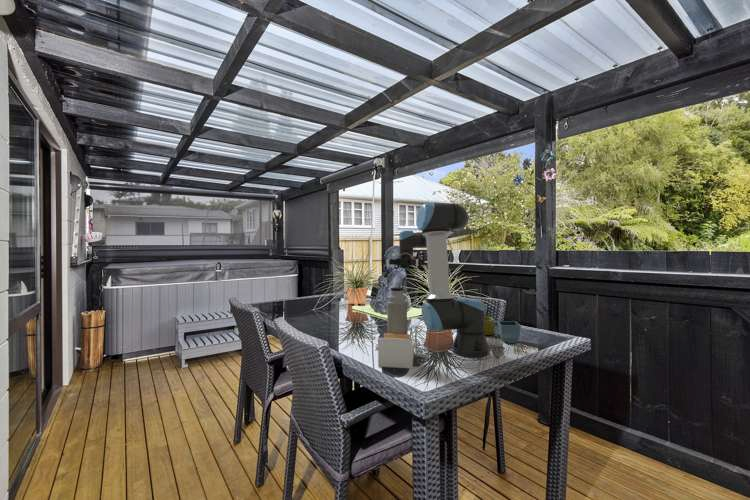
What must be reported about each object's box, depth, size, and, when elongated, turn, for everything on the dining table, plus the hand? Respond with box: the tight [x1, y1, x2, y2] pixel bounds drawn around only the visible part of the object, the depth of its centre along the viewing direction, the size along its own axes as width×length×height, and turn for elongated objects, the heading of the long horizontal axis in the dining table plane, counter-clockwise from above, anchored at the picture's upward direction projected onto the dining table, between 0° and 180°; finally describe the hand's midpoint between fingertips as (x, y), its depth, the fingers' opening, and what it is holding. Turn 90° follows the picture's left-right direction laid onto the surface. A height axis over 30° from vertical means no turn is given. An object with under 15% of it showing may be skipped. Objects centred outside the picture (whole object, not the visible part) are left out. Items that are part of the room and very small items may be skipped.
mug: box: [485, 316, 495, 336], centre depth 182 cm, size 12×10×10 cm
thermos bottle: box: [386, 287, 408, 334], centre depth 144 cm, size 8×8×28 cm
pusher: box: [383, 332, 410, 339], centre depth 138 cm, size 4×10×10 cm, turn 81°
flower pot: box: [497, 320, 521, 344], centre depth 167 cm, size 9×9×9 cm
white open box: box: [377, 337, 415, 369], centre depth 142 cm, size 17×13×11 cm
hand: (401, 263), depth 159 cm, fingers open, 13 cm apart
